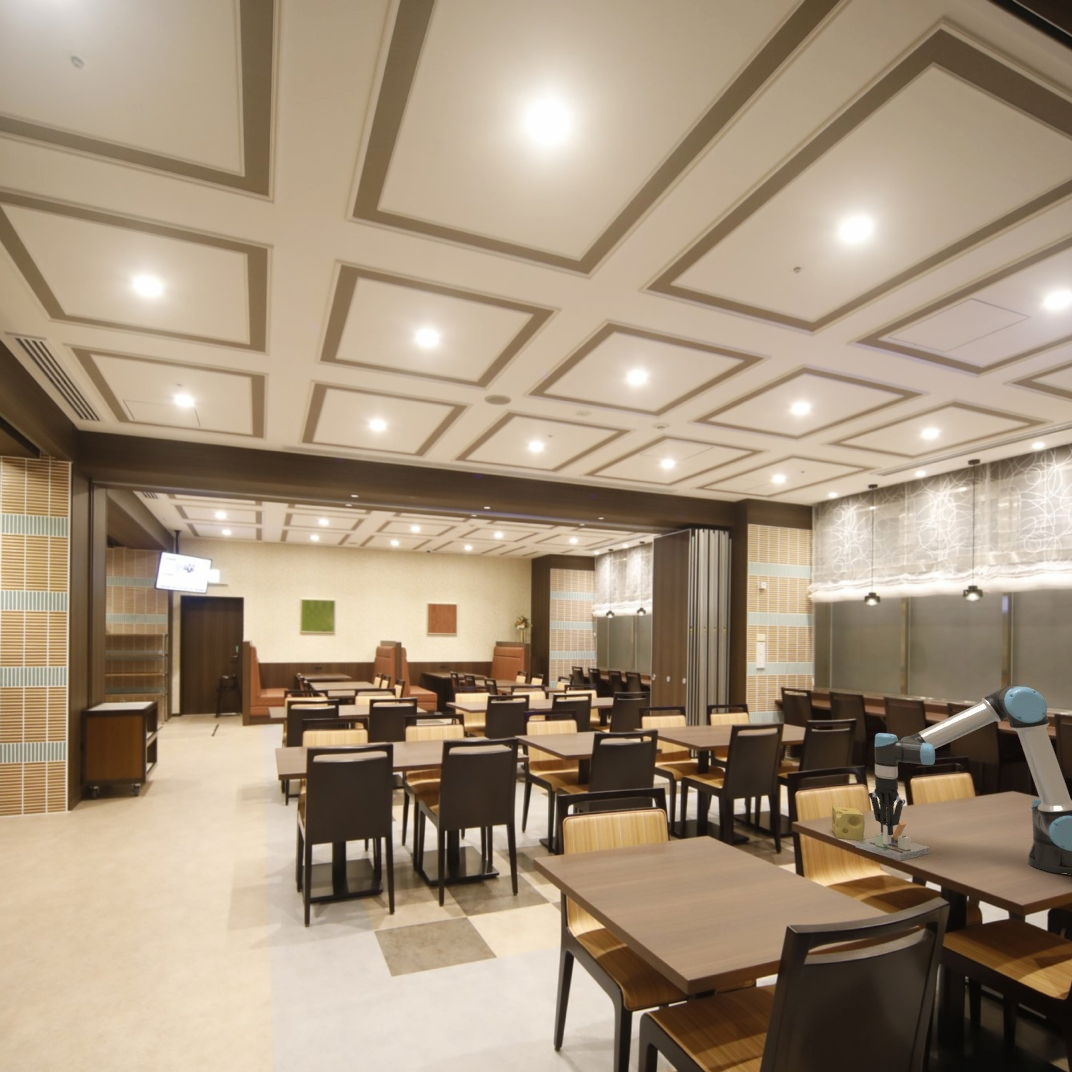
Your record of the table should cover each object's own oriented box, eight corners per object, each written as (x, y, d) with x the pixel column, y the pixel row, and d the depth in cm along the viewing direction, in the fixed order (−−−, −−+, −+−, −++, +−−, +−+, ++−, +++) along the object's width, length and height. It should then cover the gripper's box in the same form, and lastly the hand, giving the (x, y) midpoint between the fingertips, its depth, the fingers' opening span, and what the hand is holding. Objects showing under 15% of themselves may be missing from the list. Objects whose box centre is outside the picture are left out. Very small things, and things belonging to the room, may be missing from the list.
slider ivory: (910, 849, 253) (910, 836, 253) (906, 850, 251) (905, 837, 252) (902, 846, 255) (902, 834, 256) (898, 847, 254) (897, 835, 254)
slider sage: (887, 846, 255) (887, 834, 255) (883, 847, 253) (883, 835, 254) (879, 843, 257) (879, 831, 258) (875, 845, 256) (875, 832, 256)
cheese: (835, 838, 269) (835, 811, 271) (831, 830, 280) (830, 805, 281) (864, 841, 267) (864, 814, 268) (858, 834, 277) (858, 808, 279)
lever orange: (898, 841, 262) (906, 824, 261) (894, 842, 261) (901, 825, 259) (894, 839, 264) (902, 821, 262) (890, 840, 262) (898, 822, 260)
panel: (929, 853, 256) (929, 842, 257) (900, 861, 245) (900, 849, 246) (884, 840, 270) (884, 829, 271) (855, 847, 259) (855, 836, 260)
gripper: (909, 779, 253) (910, 847, 250) (875, 772, 264) (875, 837, 261) (898, 781, 249) (899, 850, 246) (863, 773, 260) (864, 839, 257)
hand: (887, 843), depth 253 cm, fingers closed
